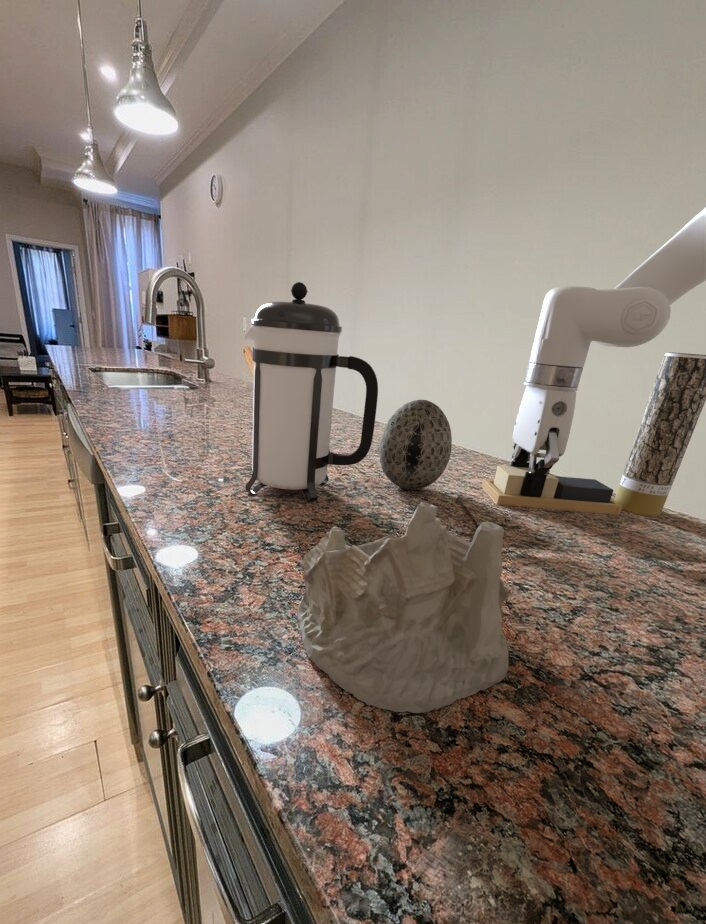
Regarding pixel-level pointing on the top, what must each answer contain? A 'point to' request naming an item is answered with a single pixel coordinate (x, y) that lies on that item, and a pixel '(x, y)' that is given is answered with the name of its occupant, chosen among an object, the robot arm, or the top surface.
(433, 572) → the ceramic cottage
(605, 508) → the tray
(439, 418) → the decorative egg
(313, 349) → the coffee press
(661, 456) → the paper tube
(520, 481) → the beige pad
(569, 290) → the robot arm
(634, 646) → the top surface
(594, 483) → the charcoal pad
